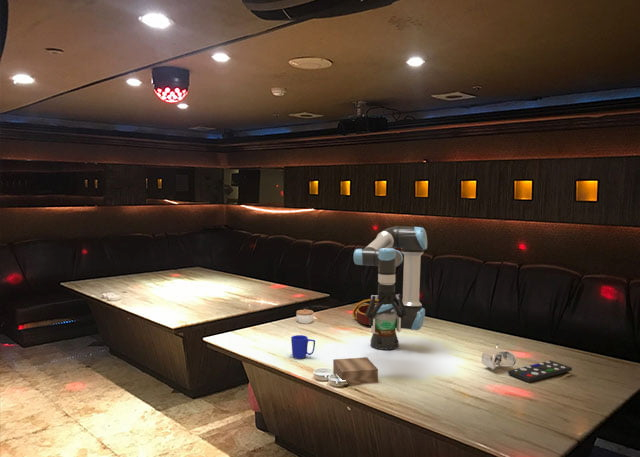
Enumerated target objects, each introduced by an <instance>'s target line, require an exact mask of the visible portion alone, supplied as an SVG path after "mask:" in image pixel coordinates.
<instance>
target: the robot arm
mask: <svg viewBox="0 0 640 457" xmlns="http://www.w3.org/2000/svg"><path fill="white" fill-rule="evenodd" d="M397 249H401V251H399V250H397ZM427 249H428V235H427V231H426V229H425V228H424V227H421V226H399V225H398V226H397V225H396V226H390V227H388V228H385V229H383V230H381V231H380V232H379V233H378V234H377V235H376V238H374V240H372V241H371V242H370V243H369V244H368V245H367V246H365V248H356V249H354V252H353V262H354V264H355V265H358V266H368V267H369V266H372V267H373V266H374V267H378V268H377V269H378V270H377V271H378V274H377V278H378V279H377V282H378V284H377V295H373V294H371V295H370V299H371V301H369V302H368V304H369V306H368V309H367V311H366V314H365V316H366V317H368V318H369V324H370V325H369V326H371V327H370V330H371V333H372V336H371V338H370V346H371V347H372V348H376V349H379V350H394V349H397V348H398V347H399V337H398V335H397V332H398V333H401V329H404V330H411V331H419V330H421V329H422V327H423V324H424V322H425V316H426V309H425V308H424V307H423V305H422V303H421V302H420V287H421V285H420V284H421V257H422V255H423V254H424V252H425V250H427ZM402 263H403V277H402V278H403V279H402V280H403V281H402V284H403V285H402V294H400V293H397V294H396V284H395V283H396V267H399V266H400V265H401V264H402ZM376 299H378V300H379V301H375V300H376ZM395 299H396V300H397V302H398V305H397V303H396V302H395ZM374 303H377V304H376V305H375V308H374V309H373V306H374ZM372 309H373V311H372ZM371 311H372V312H371ZM395 311H396V312H397V316H398V318H396V324H395V333H394V336H391V337H379V336H376V335H374V334H375V319H374V316H375V315H376V314H383V313H388V314H392V313H395ZM396 331H397V332H396Z"/></svg>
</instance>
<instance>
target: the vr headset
mask: <svg viewBox="0 0 640 457" xmlns="http://www.w3.org/2000/svg"><path fill="white" fill-rule="evenodd" d="M516 363H517V356H516V355H515V353H514V352H513V351H510V350H504V349H502V348H499V342H497V343H496V345H495V348H494V349H489V350H486V351H483V352H482V354H481V364H483V366H486V367H487V368H490V369H491V370H492V371H494V370H495V369H497V368H496V367H497V366H499V367H502V368H511V367H513V366H515V365H516Z"/></svg>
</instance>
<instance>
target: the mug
mask: <svg viewBox="0 0 640 457" xmlns="http://www.w3.org/2000/svg"><path fill="white" fill-rule="evenodd" d="M290 339H291V354H292V357H293V358H294V359H304V358H306V356H307V355H308V356H312V354H314V351H315V346H316V340H315V339H311V338H308V336H306V335H303V334H298V335H297V334H296V335H292V336H291V337H290ZM309 342H313V347H312V351H311V352H308V344H309Z"/></svg>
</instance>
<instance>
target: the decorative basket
mask: <svg viewBox="0 0 640 457" xmlns="http://www.w3.org/2000/svg"><path fill="white" fill-rule="evenodd" d="M370 301H371V298H368V299H364V300H361V301H359V302H358V303H356V304H355V306H354V307H353V309H352V313H351V314H352V318H354V319H355V320H357V322H358V323H360V324H363V325H368V326H370V324H369V318H368V317H366V316H365V314H366V311H367V309H368V306H369V303H367V302H370ZM378 301H379V300H378V298H377V299H376V300H375V303H374V306H373V309H374V308H375V305H376V304H377V302H378ZM364 303H365V304H364ZM373 309H372V311H373ZM372 311H371V312H372Z"/></svg>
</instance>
